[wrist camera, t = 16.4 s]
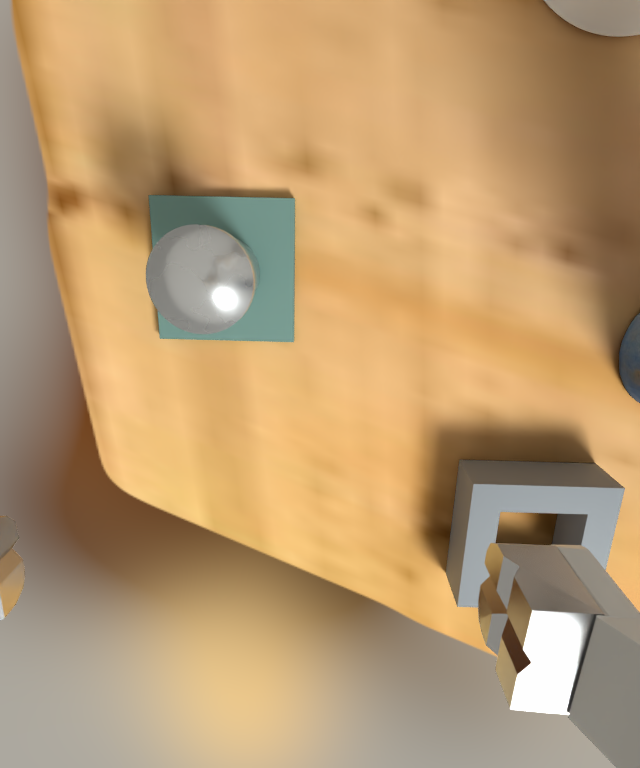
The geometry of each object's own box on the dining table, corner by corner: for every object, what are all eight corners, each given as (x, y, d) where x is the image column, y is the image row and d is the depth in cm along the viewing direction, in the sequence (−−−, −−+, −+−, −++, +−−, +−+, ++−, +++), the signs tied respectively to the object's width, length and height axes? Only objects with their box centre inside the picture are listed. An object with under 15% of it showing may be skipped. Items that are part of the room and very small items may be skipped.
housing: (459, 459, 39) (473, 483, 35) (595, 463, 39) (624, 488, 35) (445, 572, 42) (457, 606, 38) (571, 576, 42) (595, 611, 38)
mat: (151, 195, 33) (148, 195, 33) (295, 199, 33) (294, 198, 33) (162, 336, 36) (159, 338, 36) (294, 340, 36) (293, 341, 36)
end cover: (179, 225, 33) (141, 223, 27) (267, 227, 33) (252, 225, 26) (184, 314, 35) (150, 333, 28) (269, 316, 35) (254, 335, 28)
